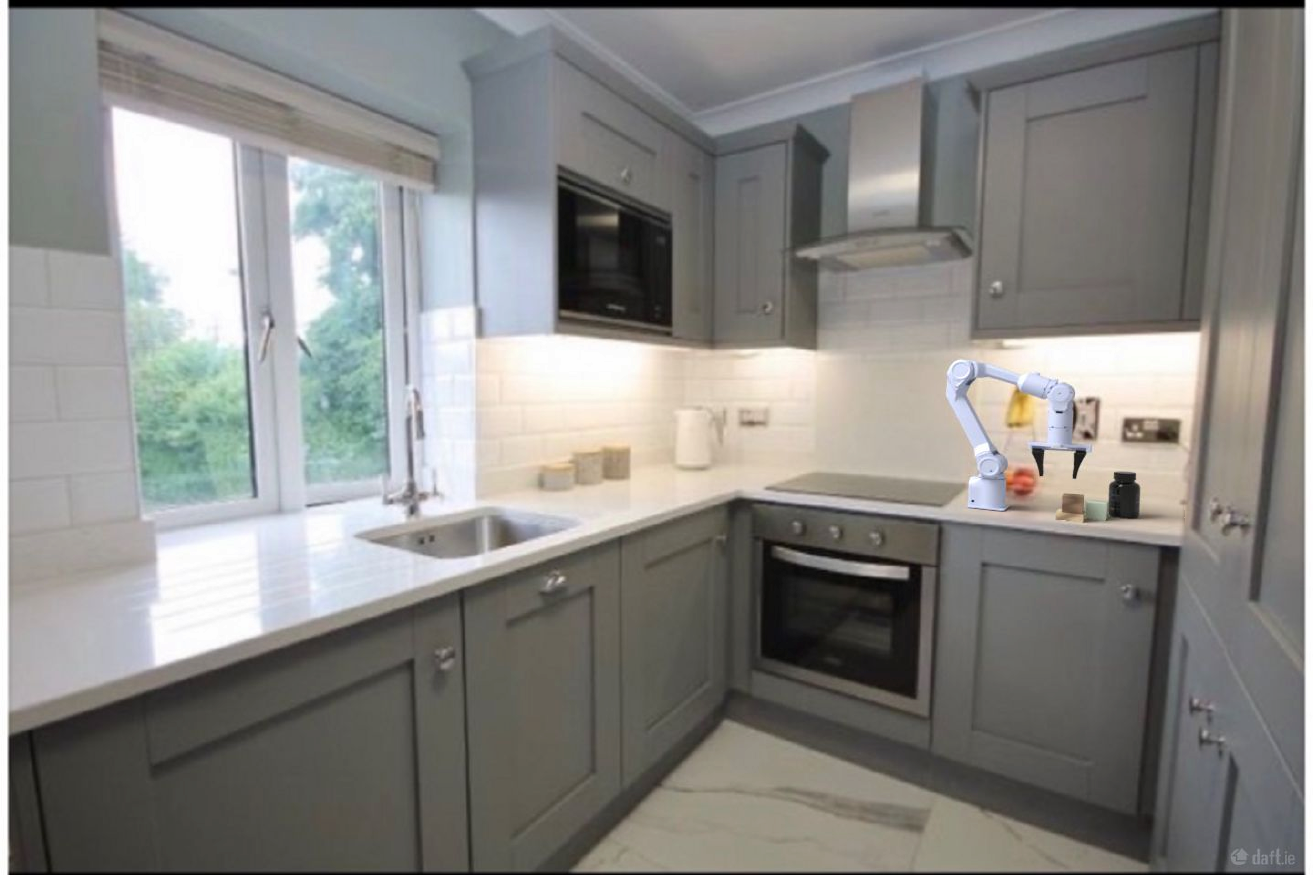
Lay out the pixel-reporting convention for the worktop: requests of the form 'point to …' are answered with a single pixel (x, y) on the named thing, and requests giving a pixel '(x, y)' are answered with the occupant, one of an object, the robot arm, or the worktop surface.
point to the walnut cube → (1073, 503)
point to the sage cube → (1096, 510)
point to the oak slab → (1070, 516)
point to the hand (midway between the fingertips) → (1057, 477)
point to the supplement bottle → (1124, 496)
